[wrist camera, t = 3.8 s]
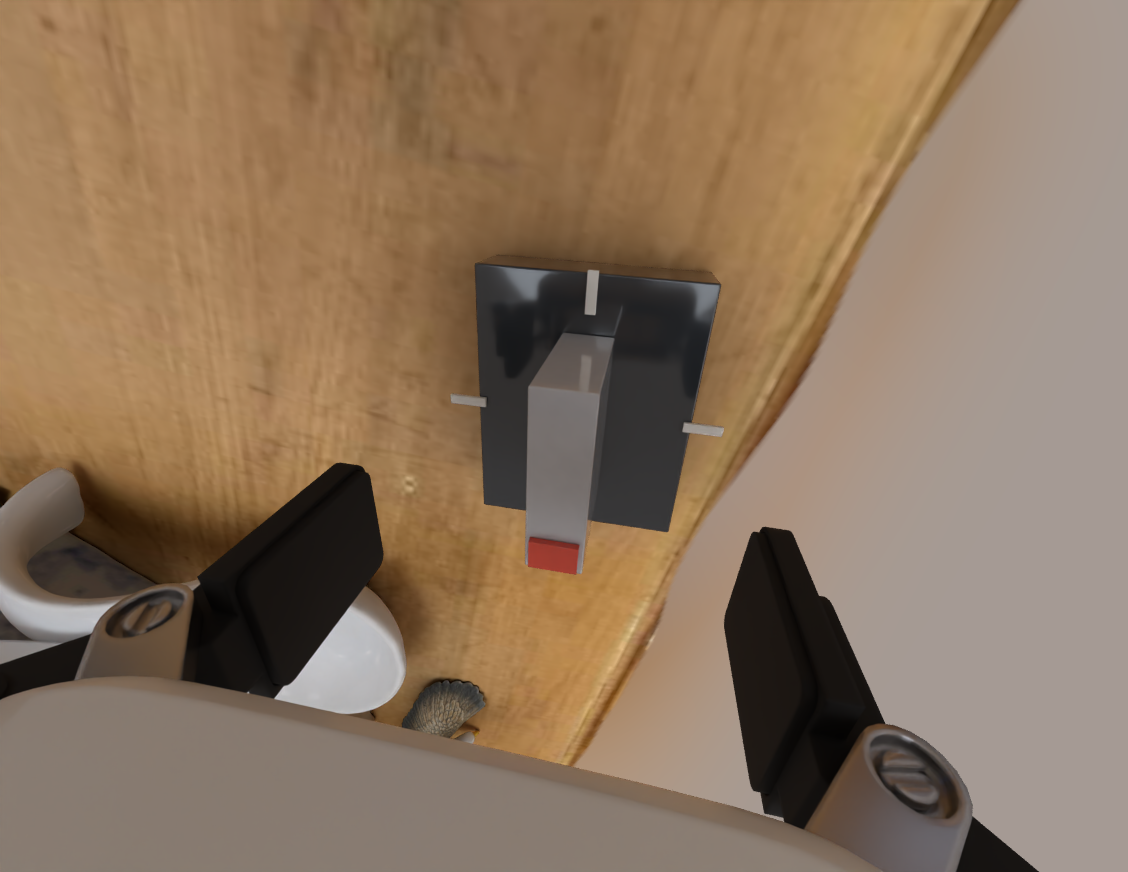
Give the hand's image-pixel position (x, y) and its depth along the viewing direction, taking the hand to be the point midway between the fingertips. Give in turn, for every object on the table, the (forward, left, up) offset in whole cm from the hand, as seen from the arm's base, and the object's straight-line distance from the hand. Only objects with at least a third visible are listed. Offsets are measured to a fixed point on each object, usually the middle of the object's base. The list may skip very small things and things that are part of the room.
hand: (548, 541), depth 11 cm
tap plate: (0, 0, -9) cm, 9 cm away
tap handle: (0, 0, -7) cm, 7 cm away
